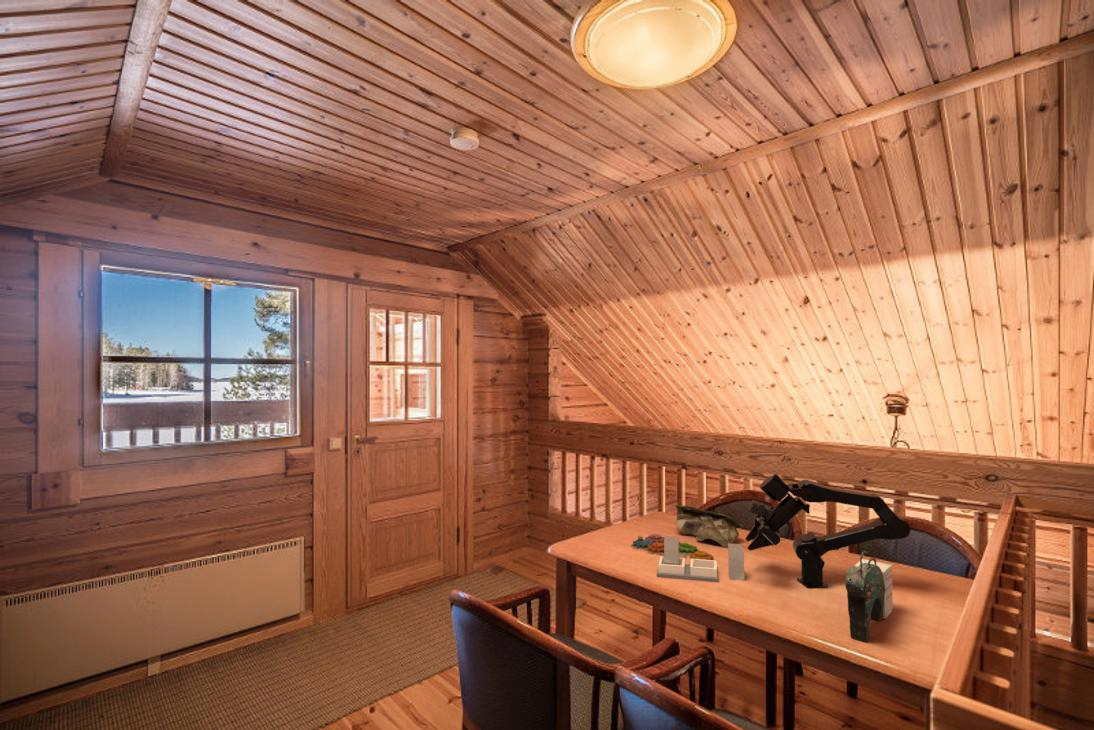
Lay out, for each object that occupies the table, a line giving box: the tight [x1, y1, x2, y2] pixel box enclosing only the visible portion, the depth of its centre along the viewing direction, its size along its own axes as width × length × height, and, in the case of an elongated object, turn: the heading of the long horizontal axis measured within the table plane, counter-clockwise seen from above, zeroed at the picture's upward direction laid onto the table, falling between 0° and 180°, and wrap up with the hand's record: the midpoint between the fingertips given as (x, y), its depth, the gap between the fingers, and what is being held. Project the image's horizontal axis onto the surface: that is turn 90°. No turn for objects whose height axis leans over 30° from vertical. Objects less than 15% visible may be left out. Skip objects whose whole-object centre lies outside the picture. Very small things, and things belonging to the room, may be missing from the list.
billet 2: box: [727, 543, 745, 582], centre depth 171 cm, size 4×4×10 cm
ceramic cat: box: [845, 550, 885, 643], centre depth 136 cm, size 20×6×20 cm, turn 135°
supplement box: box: [854, 558, 894, 620], centre depth 145 cm, size 7×7×13 cm
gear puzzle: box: [630, 533, 714, 560], centre depth 196 cm, size 31×16×4 cm, turn 39°
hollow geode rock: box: [674, 504, 744, 549], centre depth 209 cm, size 28×13×15 cm
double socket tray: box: [656, 555, 720, 583], centre depth 175 cm, size 19×11×4 cm, turn 73°
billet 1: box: [664, 535, 680, 565], centre depth 177 cm, size 4×4×10 cm
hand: (747, 544), depth 170 cm, fingers open, 9 cm apart
